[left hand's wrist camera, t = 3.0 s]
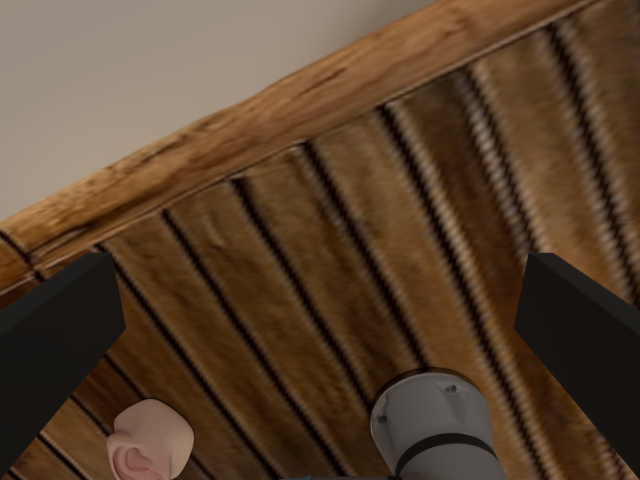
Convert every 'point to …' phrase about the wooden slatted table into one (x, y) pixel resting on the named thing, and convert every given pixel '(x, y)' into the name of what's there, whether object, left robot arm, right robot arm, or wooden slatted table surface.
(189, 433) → the anatomical model
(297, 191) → the wooden slatted table surface
